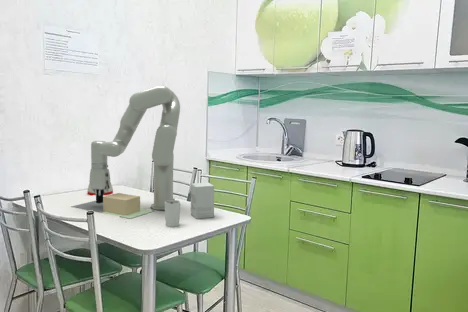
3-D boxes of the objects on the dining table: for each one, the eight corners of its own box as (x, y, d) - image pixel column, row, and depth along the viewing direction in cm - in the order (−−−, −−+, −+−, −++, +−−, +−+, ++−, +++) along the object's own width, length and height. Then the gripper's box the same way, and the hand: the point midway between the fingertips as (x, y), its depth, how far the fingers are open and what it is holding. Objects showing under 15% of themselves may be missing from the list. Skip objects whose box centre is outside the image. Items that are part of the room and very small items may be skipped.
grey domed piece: (89, 191, 240) (89, 166, 239) (114, 190, 243) (113, 165, 241) (85, 196, 227) (85, 169, 225) (111, 195, 229) (110, 169, 228)
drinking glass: (161, 224, 174) (161, 202, 173) (171, 221, 180) (171, 199, 179) (172, 227, 171) (173, 204, 170) (183, 224, 176) (183, 201, 175)
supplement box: (208, 212, 196) (208, 182, 195) (214, 217, 188) (214, 185, 186) (190, 214, 193) (190, 183, 191) (195, 219, 185) (195, 186, 183)
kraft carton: (140, 210, 196) (140, 196, 195) (125, 215, 187) (125, 200, 186) (118, 206, 202) (118, 193, 202) (103, 211, 194) (103, 196, 193)
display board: (153, 211, 196) (153, 210, 196) (130, 219, 182) (130, 218, 182) (95, 201, 215) (95, 200, 215) (70, 207, 201) (70, 206, 201)
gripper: (116, 166, 199) (116, 203, 202) (94, 163, 206) (94, 199, 208) (105, 168, 193) (105, 206, 195) (82, 165, 200) (82, 202, 202)
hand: (99, 202), depth 202 cm, fingers closed
